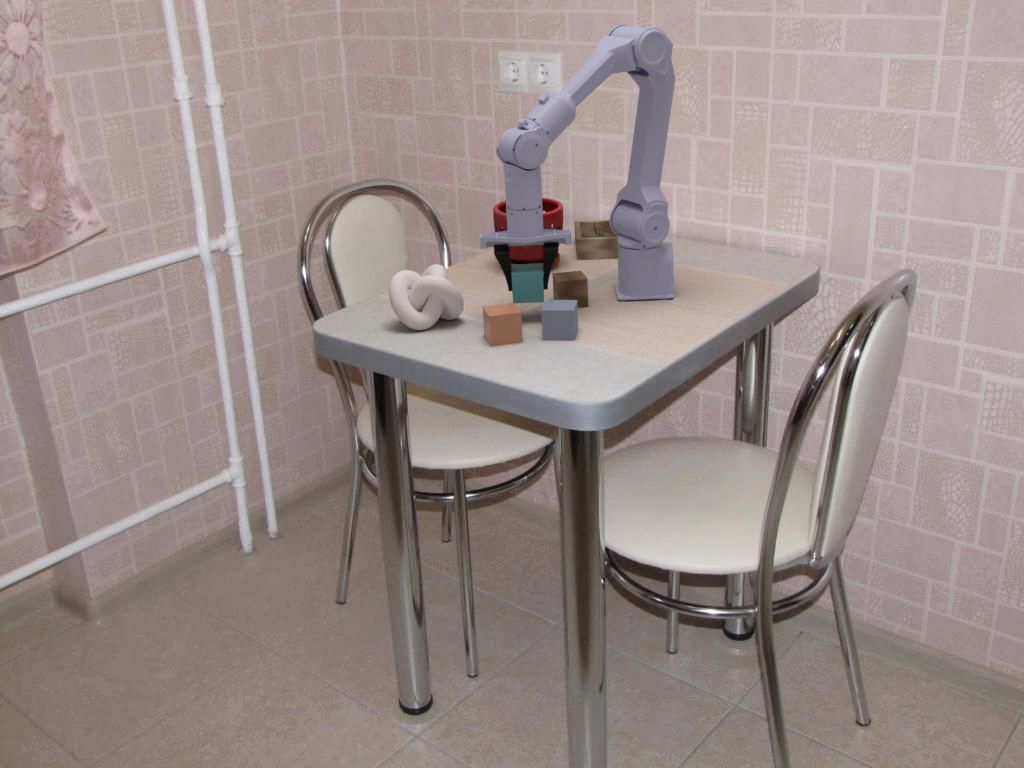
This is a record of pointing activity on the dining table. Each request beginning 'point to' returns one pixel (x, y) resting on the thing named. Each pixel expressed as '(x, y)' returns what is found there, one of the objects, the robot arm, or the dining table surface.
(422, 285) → the white knot sculpture
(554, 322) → the slate-blue block
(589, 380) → the dining table surface
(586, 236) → the wooden compartment box
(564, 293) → the walnut block
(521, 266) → the teal block
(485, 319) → the terracotta block
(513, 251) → the plant pot
